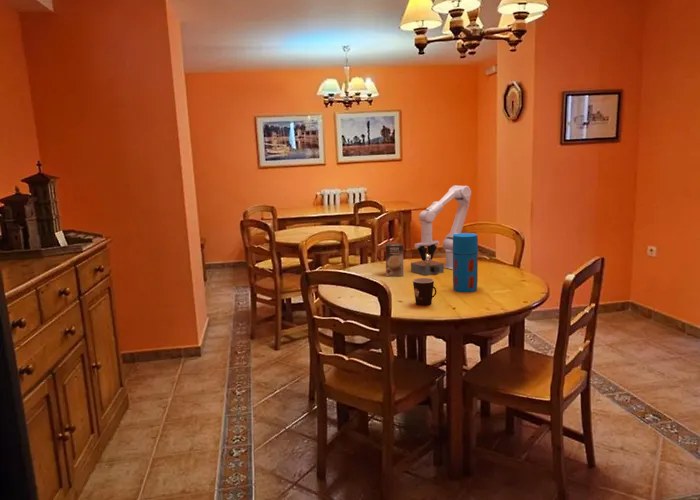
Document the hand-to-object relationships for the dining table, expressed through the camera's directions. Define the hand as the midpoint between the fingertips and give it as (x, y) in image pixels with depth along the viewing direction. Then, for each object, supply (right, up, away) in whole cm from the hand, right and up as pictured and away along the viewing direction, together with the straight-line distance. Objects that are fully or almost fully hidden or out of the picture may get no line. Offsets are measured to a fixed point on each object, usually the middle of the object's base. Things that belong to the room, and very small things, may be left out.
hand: (427, 259), depth 268 cm
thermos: (+12, -13, -35) cm, 39 cm away
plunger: (0, -6, +1) cm, 6 cm away
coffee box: (-17, -8, -2) cm, 19 cm away
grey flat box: (0, -6, +1) cm, 6 cm away
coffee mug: (-9, -18, -56) cm, 59 cm away
